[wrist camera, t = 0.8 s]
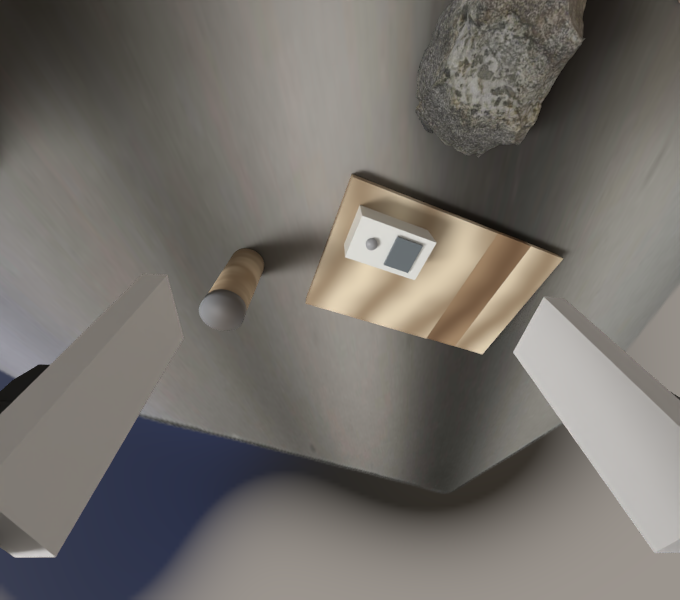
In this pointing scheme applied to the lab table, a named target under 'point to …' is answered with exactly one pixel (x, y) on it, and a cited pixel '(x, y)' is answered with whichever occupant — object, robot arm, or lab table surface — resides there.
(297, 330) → the lab table surface
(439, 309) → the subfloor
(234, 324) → the peg
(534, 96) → the rock
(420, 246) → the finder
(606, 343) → the robot arm
